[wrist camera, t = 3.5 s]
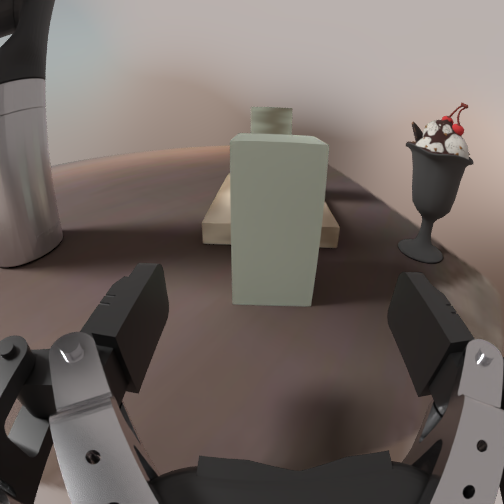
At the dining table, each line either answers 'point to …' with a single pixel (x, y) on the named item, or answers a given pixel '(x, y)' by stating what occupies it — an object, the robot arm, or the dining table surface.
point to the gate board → (219, 213)
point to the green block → (276, 217)
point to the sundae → (435, 180)
